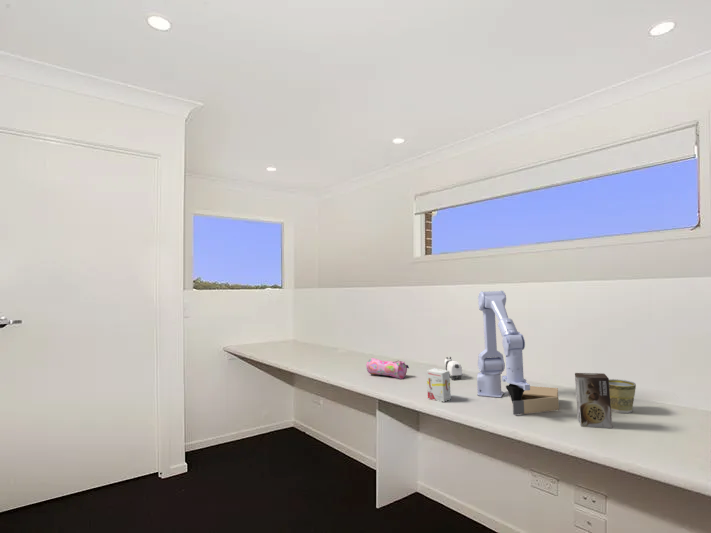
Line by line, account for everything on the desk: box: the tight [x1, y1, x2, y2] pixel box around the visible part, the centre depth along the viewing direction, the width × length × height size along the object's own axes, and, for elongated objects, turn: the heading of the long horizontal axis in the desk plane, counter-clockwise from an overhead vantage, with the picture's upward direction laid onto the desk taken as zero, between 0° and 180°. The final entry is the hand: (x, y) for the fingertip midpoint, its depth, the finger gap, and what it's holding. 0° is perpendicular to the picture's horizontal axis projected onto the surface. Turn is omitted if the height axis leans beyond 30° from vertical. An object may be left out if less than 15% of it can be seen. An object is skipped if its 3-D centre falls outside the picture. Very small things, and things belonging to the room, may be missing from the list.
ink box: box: [426, 367, 452, 403], centre depth 172 cm, size 9×5×12 cm, turn 41°
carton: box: [521, 385, 559, 400], centre depth 161 cm, size 14×12×5 cm
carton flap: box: [512, 396, 560, 416], centre depth 150 cm, size 18×1×5 cm, turn 102°
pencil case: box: [366, 357, 410, 380], centre depth 216 cm, size 21×9×9 cm, turn 52°
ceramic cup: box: [609, 378, 637, 414], centre depth 150 cm, size 13×10×10 cm
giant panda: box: [443, 356, 463, 381], centre depth 209 cm, size 15×6×10 cm, turn 9°
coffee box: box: [574, 372, 613, 429], centre depth 137 cm, size 9×6×16 cm
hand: (516, 405), depth 150 cm, fingers closed
